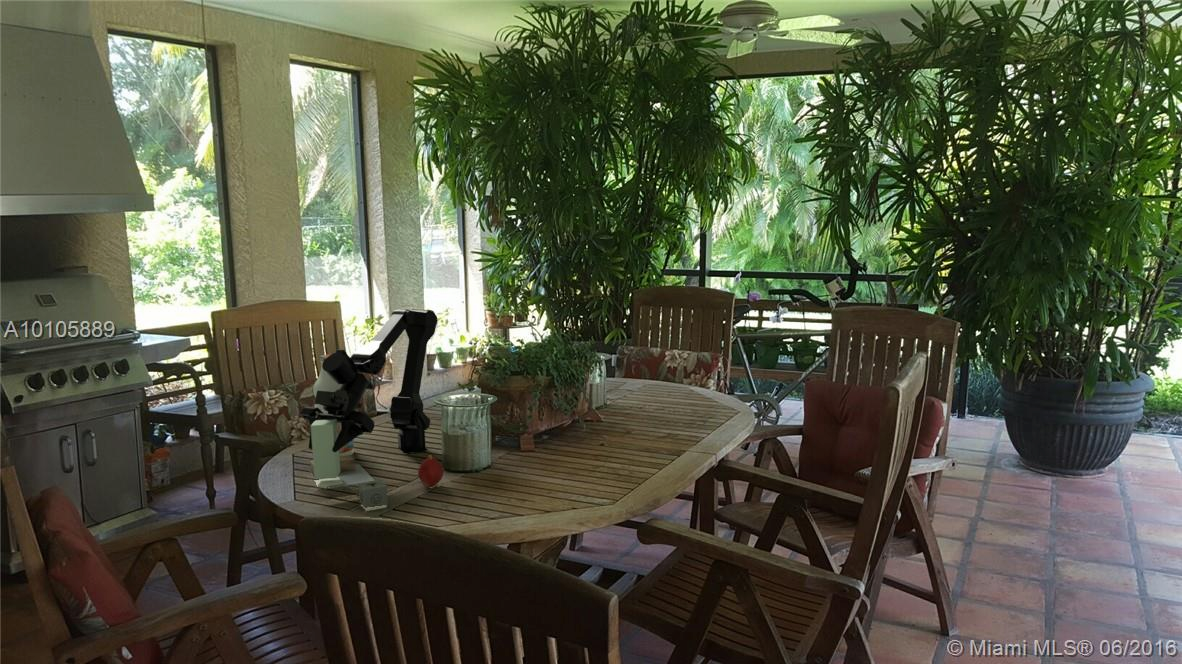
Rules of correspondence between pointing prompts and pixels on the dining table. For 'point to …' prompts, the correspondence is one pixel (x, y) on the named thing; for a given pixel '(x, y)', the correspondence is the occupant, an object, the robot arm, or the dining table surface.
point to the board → (346, 478)
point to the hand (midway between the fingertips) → (321, 450)
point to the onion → (430, 471)
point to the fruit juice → (323, 385)
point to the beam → (342, 464)
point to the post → (325, 449)
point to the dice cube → (373, 494)
